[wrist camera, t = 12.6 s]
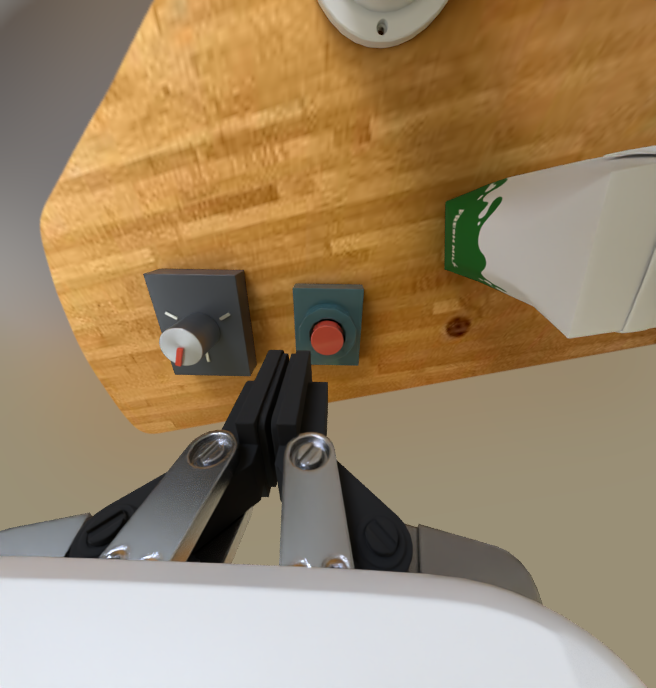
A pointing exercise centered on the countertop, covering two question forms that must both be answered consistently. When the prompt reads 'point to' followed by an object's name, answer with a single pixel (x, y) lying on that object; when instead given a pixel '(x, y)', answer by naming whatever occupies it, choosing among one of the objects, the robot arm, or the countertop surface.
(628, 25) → the countertop surface
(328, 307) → the teal button housing
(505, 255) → the milk carton
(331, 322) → the button
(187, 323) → the rotary knob
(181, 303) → the plate
